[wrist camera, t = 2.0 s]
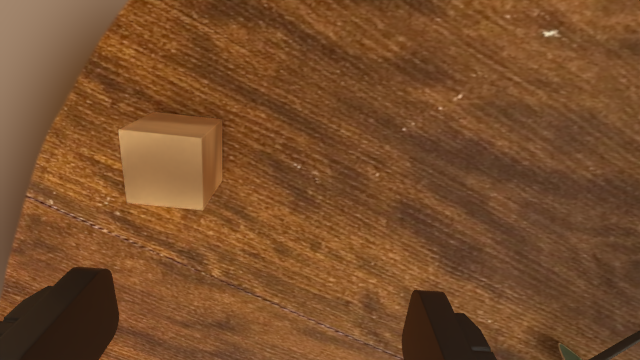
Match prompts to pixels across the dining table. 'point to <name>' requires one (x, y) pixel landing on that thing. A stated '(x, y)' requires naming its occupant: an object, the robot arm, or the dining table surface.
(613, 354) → the sunglasses
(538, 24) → the dining table surface
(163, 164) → the block
